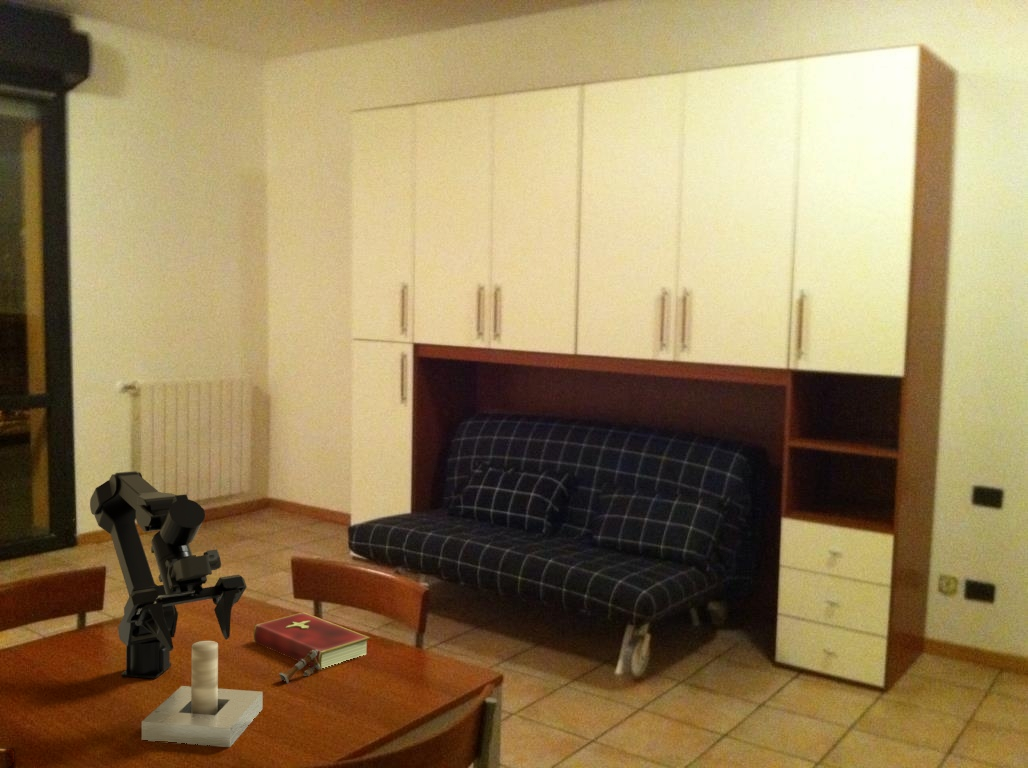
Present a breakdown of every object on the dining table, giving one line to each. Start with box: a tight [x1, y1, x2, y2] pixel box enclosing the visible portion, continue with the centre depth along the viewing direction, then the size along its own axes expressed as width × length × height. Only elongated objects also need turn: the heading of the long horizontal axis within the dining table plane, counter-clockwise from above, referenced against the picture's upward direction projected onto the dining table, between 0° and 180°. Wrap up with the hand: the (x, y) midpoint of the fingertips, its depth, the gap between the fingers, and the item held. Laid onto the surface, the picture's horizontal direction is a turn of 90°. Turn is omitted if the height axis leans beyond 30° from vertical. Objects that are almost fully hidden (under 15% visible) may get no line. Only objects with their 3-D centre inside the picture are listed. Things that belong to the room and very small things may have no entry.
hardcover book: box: [253, 611, 370, 671], centre depth 188 cm, size 12×21×4 cm, turn 49°
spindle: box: [190, 640, 219, 715], centre depth 152 cm, size 4×4×13 cm
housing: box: [141, 685, 264, 748], centre depth 153 cm, size 14×14×3 cm
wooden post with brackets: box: [278, 650, 322, 684], centre depth 173 cm, size 2×8×4 cm, turn 136°
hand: (200, 643), depth 153 cm, fingers open, 9 cm apart
